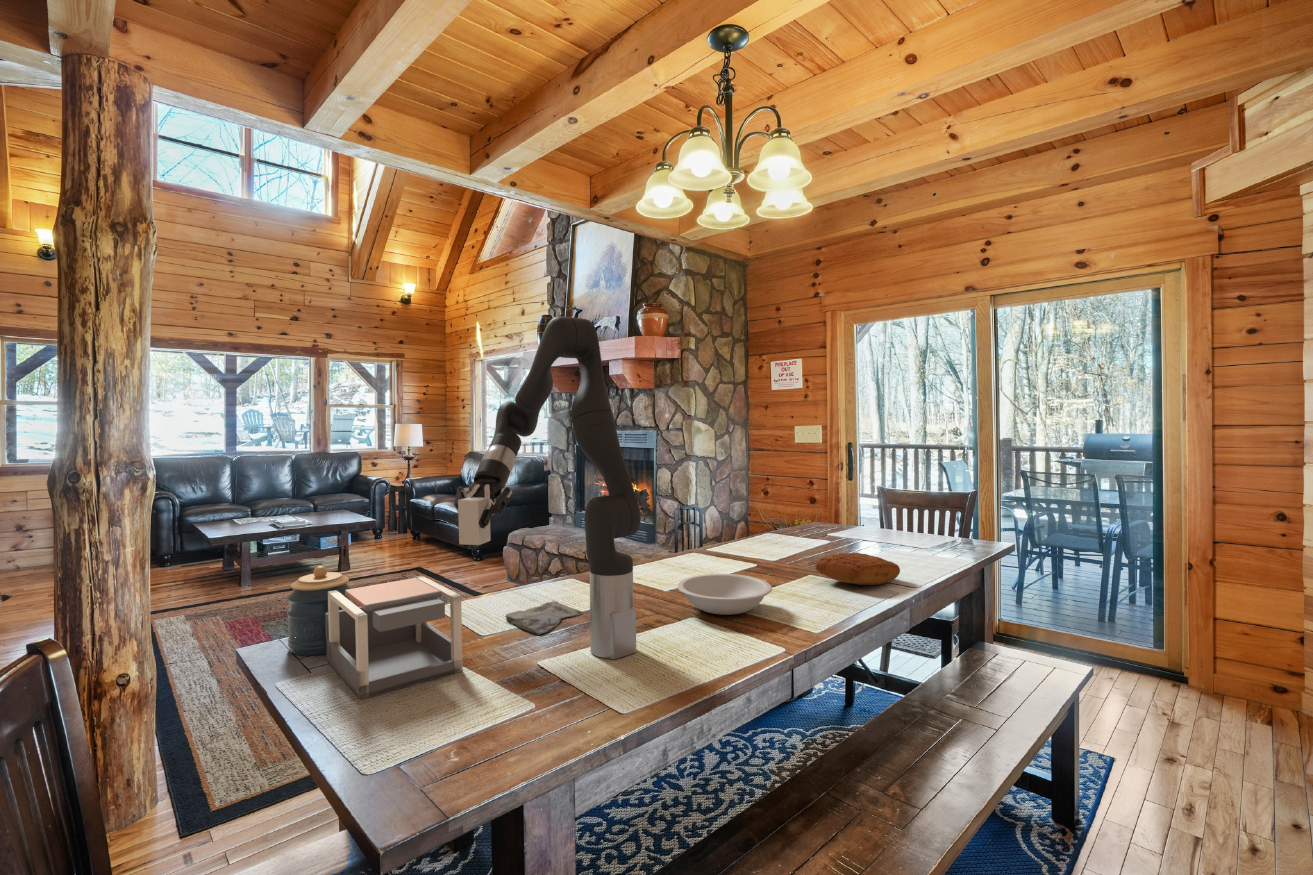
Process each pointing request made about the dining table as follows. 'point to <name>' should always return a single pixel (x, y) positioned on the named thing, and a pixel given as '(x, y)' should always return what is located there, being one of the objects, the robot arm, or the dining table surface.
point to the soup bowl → (724, 592)
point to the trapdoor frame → (389, 647)
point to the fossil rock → (542, 617)
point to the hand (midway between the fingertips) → (470, 525)
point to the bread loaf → (858, 568)
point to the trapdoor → (399, 603)
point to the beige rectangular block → (472, 521)
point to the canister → (312, 610)
